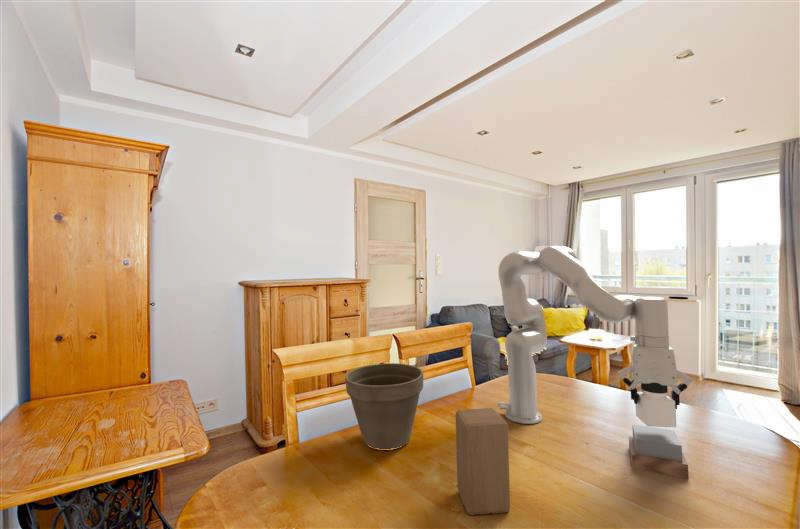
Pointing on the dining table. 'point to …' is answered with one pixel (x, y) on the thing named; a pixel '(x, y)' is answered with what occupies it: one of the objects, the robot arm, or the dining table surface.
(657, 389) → the medicine bottle
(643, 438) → the tower top
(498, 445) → the wooden block
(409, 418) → the plant pot
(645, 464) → the tower base
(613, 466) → the dining table surface
